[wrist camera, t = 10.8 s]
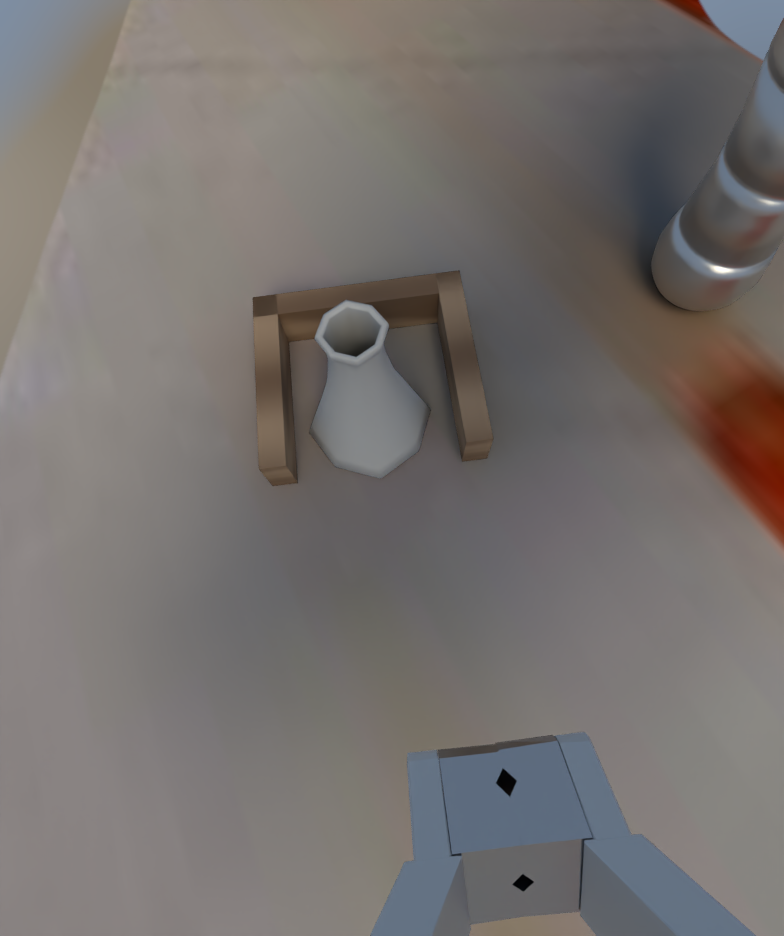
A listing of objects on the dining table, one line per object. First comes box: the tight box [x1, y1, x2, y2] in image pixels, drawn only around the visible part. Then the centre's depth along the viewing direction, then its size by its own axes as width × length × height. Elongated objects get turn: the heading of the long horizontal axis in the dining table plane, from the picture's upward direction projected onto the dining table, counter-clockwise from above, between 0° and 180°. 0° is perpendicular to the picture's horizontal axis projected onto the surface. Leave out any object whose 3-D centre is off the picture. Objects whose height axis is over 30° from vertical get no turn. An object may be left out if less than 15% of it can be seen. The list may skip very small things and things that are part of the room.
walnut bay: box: [253, 271, 493, 486], centre depth 33 cm, size 12×13×3 cm
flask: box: [309, 300, 431, 479], centre depth 29 cm, size 7×7×10 cm
